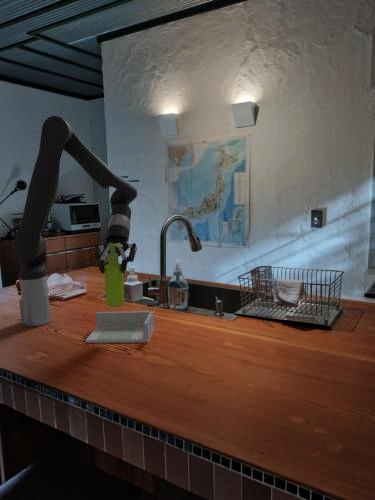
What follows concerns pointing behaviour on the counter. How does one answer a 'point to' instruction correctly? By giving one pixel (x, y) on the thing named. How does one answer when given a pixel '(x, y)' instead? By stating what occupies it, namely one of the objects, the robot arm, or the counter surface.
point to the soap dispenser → (114, 279)
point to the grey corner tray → (122, 327)
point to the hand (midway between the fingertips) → (112, 271)
